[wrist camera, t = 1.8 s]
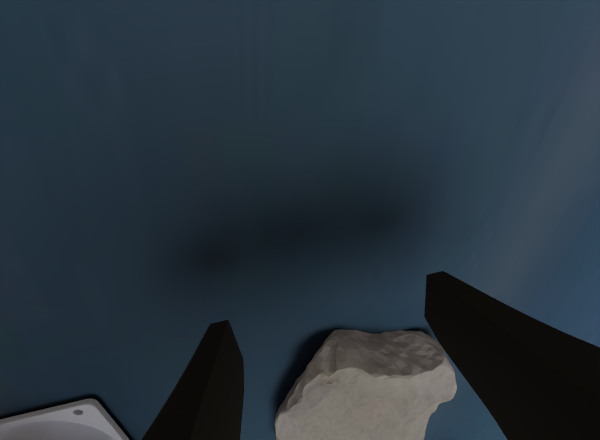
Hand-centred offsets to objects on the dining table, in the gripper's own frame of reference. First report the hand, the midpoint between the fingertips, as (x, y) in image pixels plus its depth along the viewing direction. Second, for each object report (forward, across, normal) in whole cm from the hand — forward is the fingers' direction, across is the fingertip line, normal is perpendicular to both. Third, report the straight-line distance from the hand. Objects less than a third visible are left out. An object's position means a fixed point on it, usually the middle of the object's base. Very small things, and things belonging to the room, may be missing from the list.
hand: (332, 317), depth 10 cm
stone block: (+5, -1, +12) cm, 13 cm away
